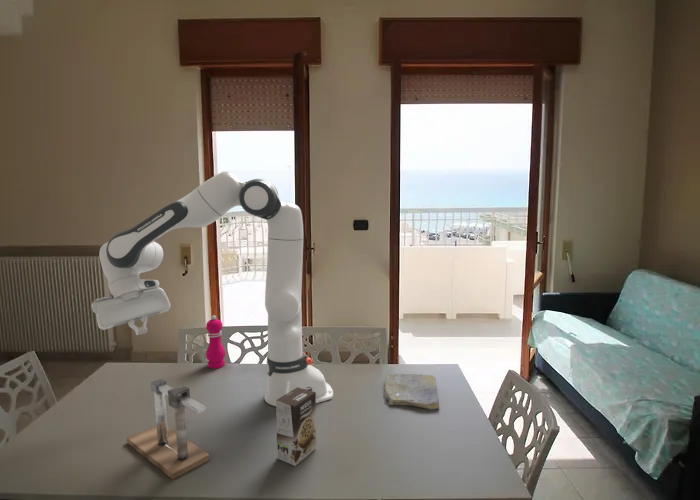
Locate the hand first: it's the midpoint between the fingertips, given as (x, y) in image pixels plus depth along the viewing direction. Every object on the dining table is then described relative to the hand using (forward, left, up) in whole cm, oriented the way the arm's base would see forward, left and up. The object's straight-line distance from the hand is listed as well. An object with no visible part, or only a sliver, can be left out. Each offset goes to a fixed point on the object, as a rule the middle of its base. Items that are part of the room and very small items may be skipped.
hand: (142, 333), depth 134 cm
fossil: (-81, +16, -27) cm, 87 cm away
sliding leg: (-10, +28, -24) cm, 38 cm away
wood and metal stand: (-6, +22, -26) cm, 35 cm away
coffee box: (-38, +35, -26) cm, 58 cm away
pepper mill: (-22, -32, -26) cm, 47 cm away
